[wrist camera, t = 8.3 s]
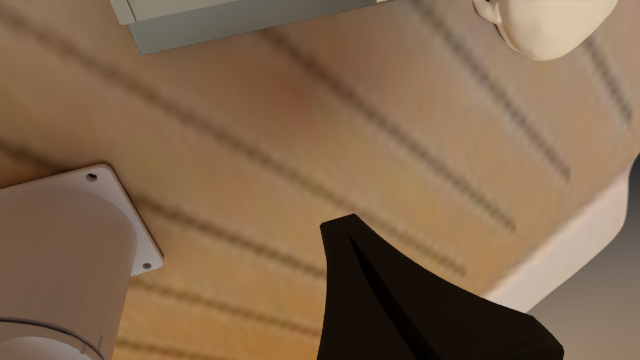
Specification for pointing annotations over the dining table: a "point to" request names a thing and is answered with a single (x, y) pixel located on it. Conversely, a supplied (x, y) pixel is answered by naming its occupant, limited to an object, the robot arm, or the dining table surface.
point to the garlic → (545, 23)
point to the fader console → (215, 18)
